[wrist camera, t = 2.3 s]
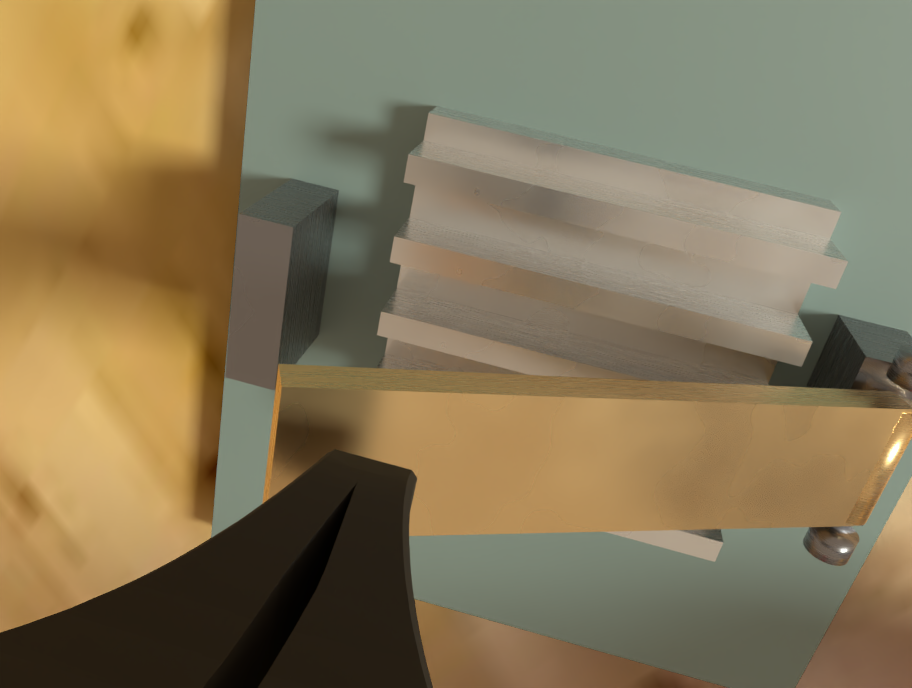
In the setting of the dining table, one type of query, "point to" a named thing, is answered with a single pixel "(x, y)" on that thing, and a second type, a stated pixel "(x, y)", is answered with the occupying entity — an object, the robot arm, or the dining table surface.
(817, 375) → the heat sink
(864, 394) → the strap
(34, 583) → the dining table surface
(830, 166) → the base board
